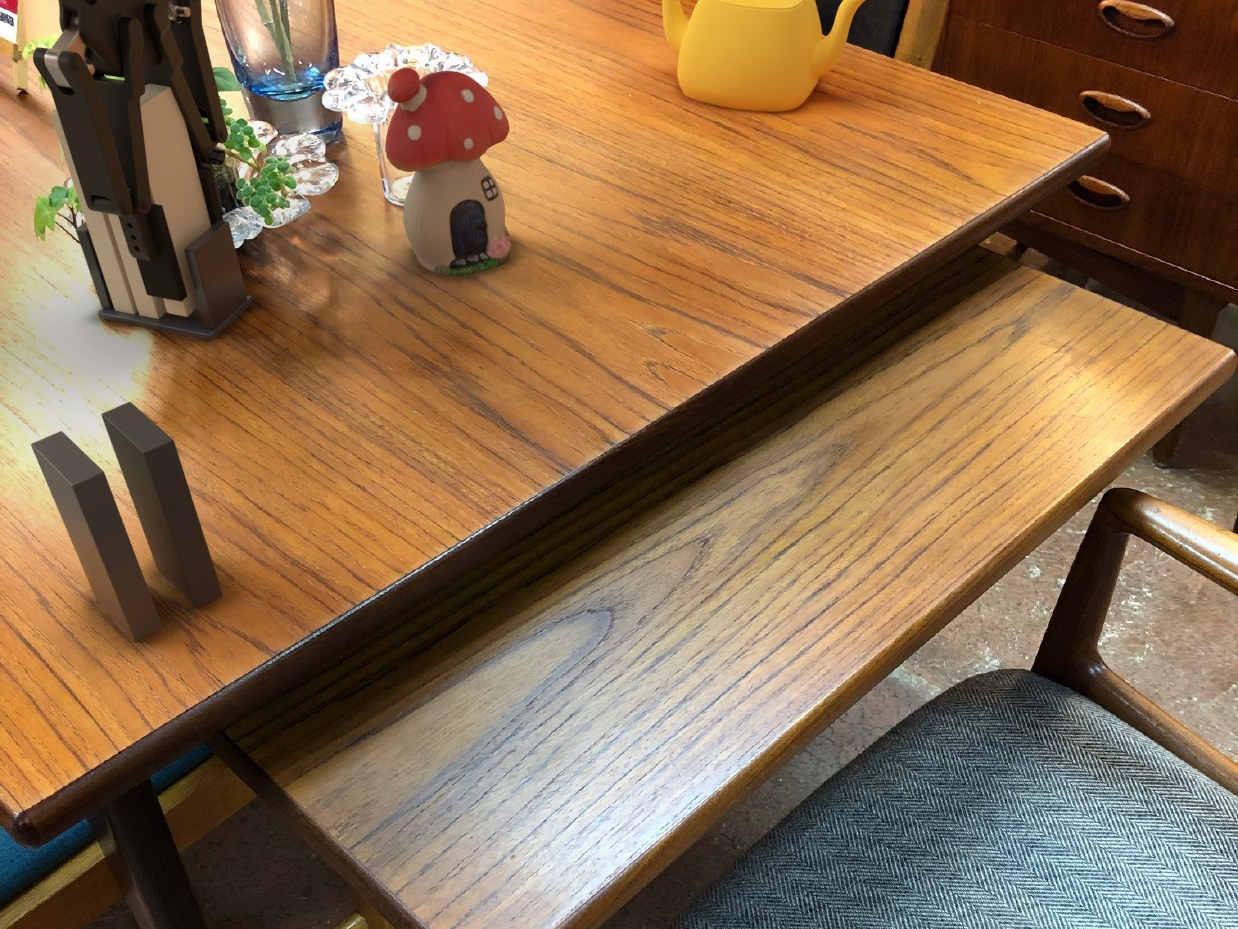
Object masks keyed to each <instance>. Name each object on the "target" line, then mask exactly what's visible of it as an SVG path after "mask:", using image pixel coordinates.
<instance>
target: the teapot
mask: <svg viewBox="0 0 1238 929" xmlns="http://www.w3.org/2000/svg"><path fill="white" fill-rule="evenodd" d="M661 1H662V2H661V3H662V4H661V6H662V25H663V32H664V36H665V38H666V42H667V44H668V45H669V47H670V48H671V49H670V50H672V52H673V53H674V54H675V55H677V57H678V59H677V69H676V77H677V82H678V84H679V87H680V89H681V91H682V93H683V94H684V95H685V96H686V97H688V98H690V99H692V100H694V101H695V100H696V101H698V102H702V103H706V104H709V105H714V106H718V107H722V108H727V109H734V110H742V111H751V112H753V111H755V112H768V113H769V112H770V113H771V112H776V113H777V112H778V113H779V112H787V111H792V110H795V109H797V108H798V107H800V106H801V105H802V104H803V103H804V102H806V100H807V99H808V98H809V96H810V95H811V94H812V92H813V91H814V89H815V88H816V86H817V84H818V82H819V80H820V77H822V76H824V75H826V74H828V73H829V72H830V71H831V70H832V69H833V68H834V67H835V66H837V63H838V62H839V60H840V59H841V57H842V55H843V52H844V51H845V47H846V43H847V40H848V36H849V32H850V28H851V24H852V22H853V18H854V16H855V14H856V12H857V11H858V9H859V7H860V6H861V5H862V4H863V3H864V2H866V0H842V1H841V3H840V5H839V6H838V8H837V11H836V15H835V18H834V22H833V25H832V27H831V30H830V32H829V33H828V34H827V35H826V36H825V37H824V36H823V29H822V24H821V19H820V15H819V11H818V6H817V3H816V0H697V2H696V4H695V6H694V9H693V11H692V13H691V16H690V18H688V17H687V16H686V14H685V13H684V11H683V8H682V5H681V0H661Z"/></svg>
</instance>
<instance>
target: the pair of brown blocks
mask: <svg viewBox="0 0 1238 929" xmlns="http://www.w3.org/2000/svg"><path fill="white" fill-rule="evenodd" d="M100 415H101V418H102V422H103V424H104V427H105V430H106V432H107V435H108V438H109V441H110V443H111V446H112V449H113V451H114V454H115V456H116V459H117V463H118V465H119V467H120V471H121V474H122V476H123V479H124V482H125V484H126V488H127V490H128V492H129V495H130V498H131V502H132V504H133V506H134V509H135V512H136V515H137V517H138V520H139V523H140V525H141V528H142V531H143V534H144V536H145V539H146V542H147V545H148V547H149V550H150V554H151V556H152V559H153V561H154V565H155V566H156V569H157V571H158V572H159V573H160V574H161V575H162V576H163V577H164V578H165V579H166V580H167V581H168V582H169V584H170V585H172V586H173V587H174V588H175V589H176V590H177V591H178V592H179V593H180V595H182V596H183V597H184V598H185V599H186V600H187V601H188V602H189V603H190V604H191V605H192V606H193V607H194V608H195V609H196V610H199V609H201V608H203V607H205V606H207V605H209V604H210V603H212V602H214V601H217V600H218V599H220V598H221V597H223V596H224V594H223V591H222V588H221V585H220V582H219V577H218V575H217V572H216V569H215V566H214V562H213V560H212V556H211V553H210V550H209V547H208V543H207V541H206V540H207V539H206V537H205V533H204V531H203V528H202V524H201V522H200V518H199V515H198V512H197V508H196V506H195V503H194V499H193V495H192V493H191V490H190V486H189V483H188V481H187V477H186V474H185V470H184V468H183V465H182V461H181V458H180V455H179V452H178V449H177V446H176V442H175V440H174V439H173V438H172V437H171V436H170V435H169V434H168V433H167V432H166V431H164V430H163V429H162V428H161V427H160V426H159V425H158V424H157V423H155V422H154V421H153V420H152V419H151V418H150V417H148V416H147V415H146V414H145V413H144V412H142V410H140V408H138V407H137V406H136V405H135V404H134V403H133V402H132V401H128V402H125V403H122V404H121V405H118V406H116V407H114V408H112V409H109V410H107V411H105V412H102V413H100ZM30 447H31V449H32V451H33V452H32V453H33V454H34V457H35V459H36V462H37V463H38V466H39V468H40V471H41V473H42V475H43V478H44V479H45V482H46V485H47V487H48V489H49V492H50V494H51V496H52V498H53V501H54V503H55V505H56V508H57V510H58V513H59V515H60V518H61V519H62V522H63V524H64V527H65V529H66V531H67V534H68V536H69V539H70V541H71V542H72V546H73V548H74V550H75V553H76V555H77V558H78V560H79V562H80V565H81V567H82V569H83V572H84V574H85V576H86V579H87V581H88V584H89V586H90V589H91V590H92V593H93V595H94V597H95V600H96V602H97V603H98V604H99V605H100V606H101V607H102V608H103V609H104V611H106V613H108V615H109V616H110V617H111V618H112V619H113V620H114V621H115V623H117V624H118V626H119V627H120V628H121V629H122V630H123V632H125V633H126V635H127V636H128V637H129V638H130V639H131V640H132V641H133V642H134V643H138V642H140V641H142V640H144V639H145V638H147V637H149V636H151V635H153V634H155V633H156V632H158V631H160V630H162V629H163V627H164V626H163V624H162V622H161V618H160V616H159V614H158V611H157V607H156V605H155V603H154V600H153V598H152V595H151V593H150V590H149V587H148V584H147V581H146V579H145V576H144V574H143V571H142V569H141V566H140V563H139V561H138V558H137V555H136V553H135V550H134V547H133V544H132V542H131V539H130V537H129V534H128V531H127V528H126V526H125V523H124V520H123V518H122V515H121V513H120V511H119V510H120V509H119V508H118V505H117V502H116V500H115V499H116V498H115V497H114V494H113V491H112V488H111V486H110V484H109V481H108V478H107V476H106V473H105V471H104V470H103V469H102V468H101V467H100V466H99V465H98V464H97V463H96V462H95V461H93V460H92V459H91V458H90V456H88V455H87V454H86V453H85V452H84V451H83V450H82V449H81V448H80V447H79V446H78V445H77V444H76V443H75V442H74V441H73V440H72V439H71V438H70V437H69V436H68V435H67V434H65V433H64V431H63V430H60V431H58V432H55V433H53V434H50V435H47V436H46V437H43V438H42V439H39V440H37V441H34V442H31V443H30Z"/></svg>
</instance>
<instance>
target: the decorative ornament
mask: <svg viewBox="0 0 1238 929" xmlns="http://www.w3.org/2000/svg"><path fill="white" fill-rule="evenodd" d="M387 95H388V97H389V98H390V99H391V101H392V102H394V103H397V105H396V106H395V109H394V111H393V114H392V116H391V119H390V122H389V125H388V128H387V132H386V137H385V144H384V145H385V146H384V147H385V148H384V150H385V155H386V158H387V160H388V162H389V164H390V165H391V166H393V168H395V169H396V170H398V171H402V172H406V173H414V174H413V176H412V179H411V182H410V185H409V186H408V188H407V189H408V190H407V192H406V196H405V200H404V206H403V212H402V213H403V216H402V217H403V218H402V220H403V227H404V231H405V235H406V237H407V239H408V241H409V243H410V245H411V248H412V250H413V252H414V254H415V256H416V258H417V261H418V263H419V264H420V265H421V266H422V267H423V268H424V269H427V270H429V271H432V272H434V273H436V274H439V275H444V276H466V275H472V274H476V273H479V272H485V271H487V270H490V269H494V268H497V267H499V266H501V265H503V264H504V263H505V262H507V261H508V260H509V257H510V254H511V247H512V244H511V237H510V234H509V230H508V228H507V225H506V206H505V201H504V197H503V193H502V191H501V188H500V186H499V184H498V182H497V180H496V179H495V177H494V175H493V174H492V173H491V172H490V170H489V168H487V166H486V165H485V164H484V162H483V161H482V160H481V157H482V156H483V155H484V154H486V152H487V151H488V149H490V148H492V147H493V146H496V145H497V144H501V143H502V142H504V141H505V140H506V139H507V137H508V135H509V133H510V123H509V119H508V117H507V115H506V113H505V111H504V109H503V107H502V106H501V105H500V103H499V102H498V101H497V100H496V99H495V97H494V96H493V95H492V94H491V93H490V92H489V91H488V90H487V89H486V88H485V87H483V85H482V84H481V83H479V82H478V81H477V80H476V79H474V78H473V77H471V76H469V75H468V74H466V73H464V72H460V71H454V70H440V71H436V72H430V73H427V74H425V75H423V76H422V77H421V78H420V75H419V73H418V72H417V71H416V70H415V69H413V68H411V67H402V68H400V69H398V70H396V71H395V72H393V73H392V74H391V75H390V77H389V79H388V82H387Z"/></svg>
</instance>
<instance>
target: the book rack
mask: <svg viewBox="0 0 1238 929" xmlns="http://www.w3.org/2000/svg"><path fill="white" fill-rule="evenodd" d="M75 232H76V235H77V239H78V242H79V245H80V247H81V250H82V254H83V256H84V260H85V262H86V265H87V268H88V271H89V274H90V277H91V281H92V283H93V285H94V289H95V292H96V295H97V297H98V301H99V304H100V307H101V309H100V310H99V311H97V314H96V315H97V317H98V319H100V320H106V321H109V322H115V323H120V324H124V325H125V324H126V325H130V326H134V327H141V328H145V329H150V330H155V331H159V332H164V333H168V334H169V333H170V334H174V335H178V336H179V335H180V336H183V337H188V338H194V339H199V340H202V341H203V340H204V341H208V342H213V340H215V339H216V338H217V337H218V336H219V335H220V334H221V333H222V332H223V331H224V330H225V329H226V328H228V326H229V325H231V324H232V323H233V322H234V321H235V320H236V319H237V318H238V317H239V316H240V315H241V314H243V312H244V311H245V310H247V309H248V308H249V307H250V306H251V305H252V304H253V303H254V299H253V296H252V295H247V292H246V288H245V283H244V279H243V275H242V271H241V270H242V269H241V267H240V262H239V258H238V253H237V250H236V246H235V242H234V237H233V232H232V228H231V225H230V222H229V221H227V220H223V221H222V220H219V221H217V222H216V223H215V224H214V225H213V226H211V227H210V228H209V229H208V230H207V231H205V232H204V233H203V234H202V235H201V236H199V237H198V238H197V239H196V240H195V241H193V242H192V243H191V244H190V245H188V246H187V247H186V248H185V249H184V252H185V256H186V259H187V263H188V267H189V270H190V274H191V278H192V281H193V285H194V289H195V292H196V296H197V300H198V303H199V307H198V308H196V309H195V310H194V311H193V312H192V313H191V314H190V315H189V316H188V317H186V316H180V315H175V314H170V313H168V312H166V313H165V314H164V315H163V316H162V317H161V318H159V319H155V318H150V317H145V316H140V315H139V312H136V313H135V314H130V313H125V312H120V311H115V309H114V306H113V302H112V299H111V296H110V293H109V290H108V287H107V284H106V281H105V278H104V275H103V272H102V269H101V266H100V263H99V260H98V257H97V254H96V251H95V248H94V245H93V242H92V239H91V236H90V233H89V230H88V227H87V224H86V221H85V222H82V224H80V225H79V226H77V227H76V228H75Z"/></svg>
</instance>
